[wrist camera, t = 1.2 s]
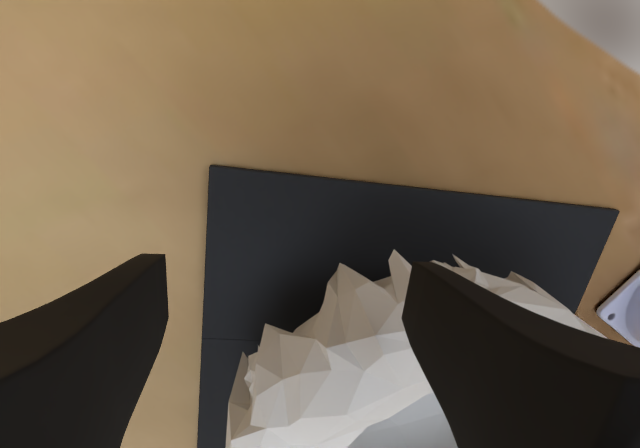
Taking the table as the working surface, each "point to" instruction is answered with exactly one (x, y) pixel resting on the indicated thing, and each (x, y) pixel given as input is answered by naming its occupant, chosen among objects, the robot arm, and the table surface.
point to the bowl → (356, 368)
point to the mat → (360, 254)
